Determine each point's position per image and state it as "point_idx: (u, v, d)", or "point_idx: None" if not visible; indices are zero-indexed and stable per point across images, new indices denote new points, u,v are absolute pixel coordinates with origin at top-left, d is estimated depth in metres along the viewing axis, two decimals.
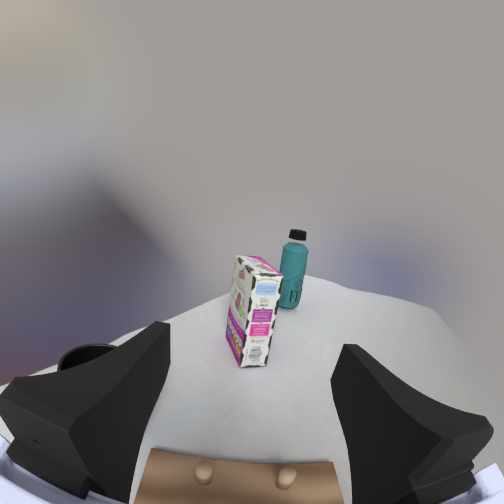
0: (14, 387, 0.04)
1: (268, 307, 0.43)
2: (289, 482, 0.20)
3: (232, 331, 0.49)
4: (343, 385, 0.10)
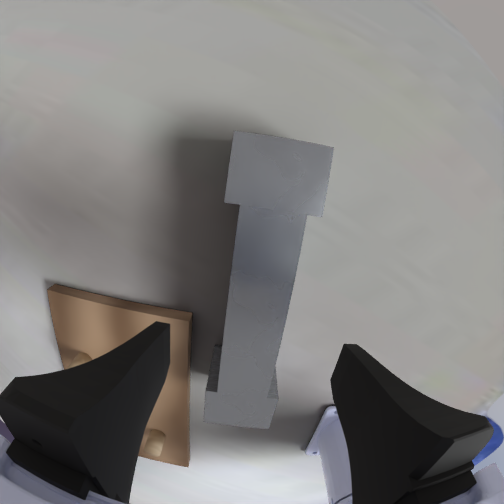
0: (14, 387, 0.04)
1: None
2: None
3: None
4: (343, 385, 0.10)
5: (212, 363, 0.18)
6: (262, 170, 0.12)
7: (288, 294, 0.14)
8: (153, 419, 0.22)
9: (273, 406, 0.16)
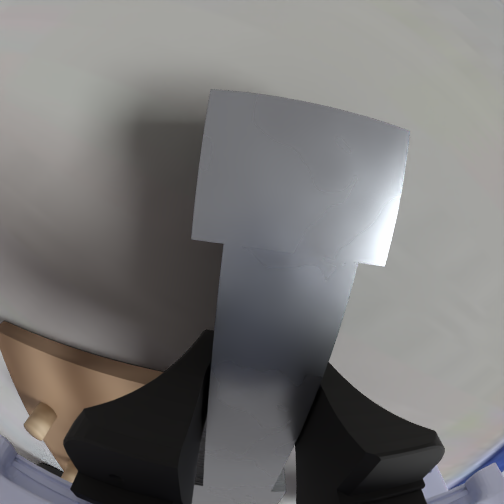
0: (91, 422, 0.04)
1: None
2: (45, 427, 0.12)
3: None
4: None
5: None
6: (271, 172, 0.06)
7: (311, 391, 0.07)
8: None
9: (279, 497, 0.10)
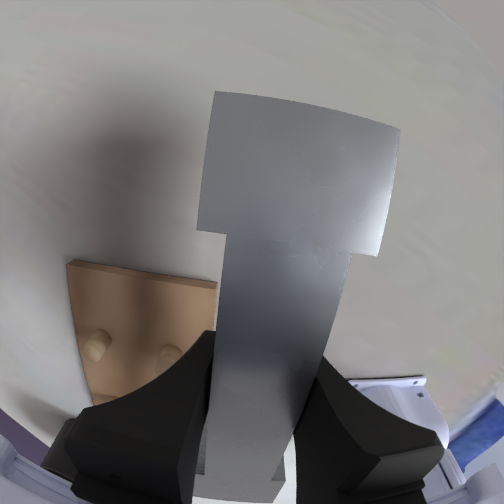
0: (91, 422, 0.04)
1: None
2: (103, 348, 0.19)
3: None
4: None
5: None
6: (270, 168, 0.06)
7: (309, 377, 0.08)
8: None
9: (278, 487, 0.10)
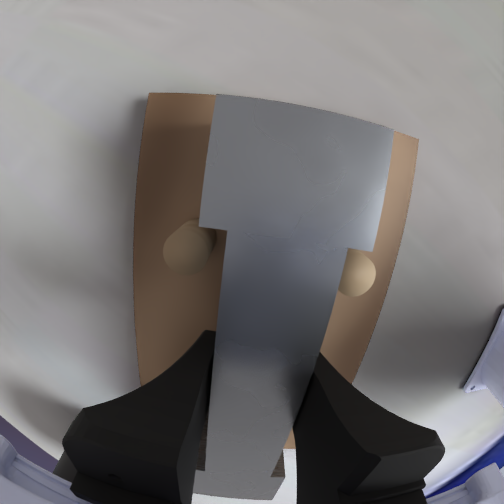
0: (90, 422, 0.04)
1: None
2: (210, 244, 0.10)
3: None
4: None
5: None
6: (269, 167, 0.06)
7: (308, 371, 0.08)
8: None
9: (278, 483, 0.10)
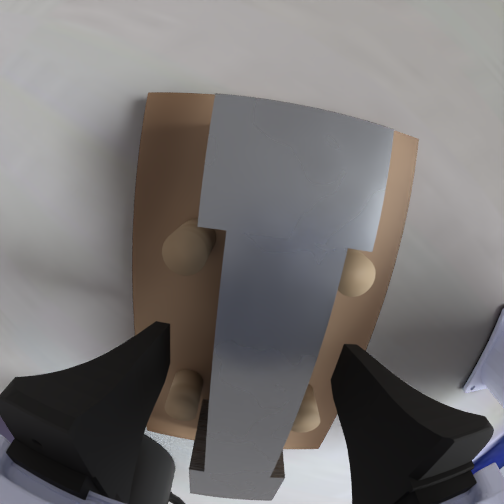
0: (14, 386, 0.04)
1: None
2: (210, 244, 0.10)
3: None
4: (343, 385, 0.10)
5: (198, 427, 0.13)
6: (268, 167, 0.06)
7: (307, 371, 0.08)
8: None
9: (278, 483, 0.10)
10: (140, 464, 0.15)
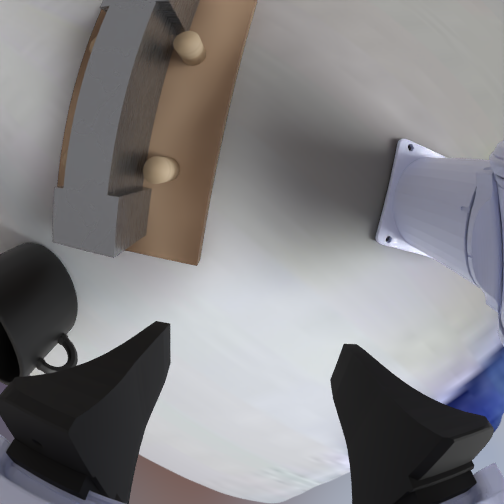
0: (14, 386, 0.04)
1: None
2: None
3: None
4: (343, 385, 0.10)
5: None
6: None
7: (132, 60, 0.11)
8: (171, 133, 0.17)
9: (114, 211, 0.13)
10: (40, 270, 0.18)
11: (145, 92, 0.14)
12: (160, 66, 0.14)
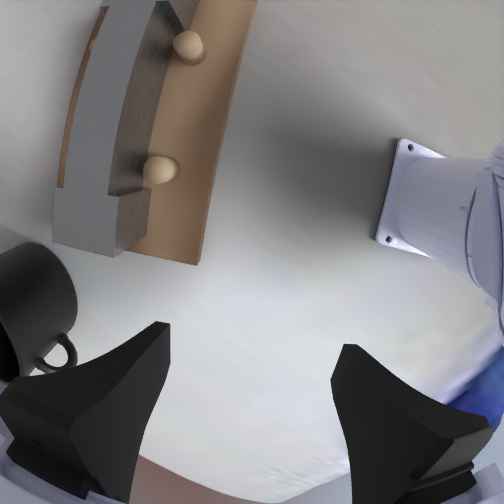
0: (14, 386, 0.04)
1: None
2: None
3: None
4: (343, 385, 0.10)
5: None
6: None
7: (132, 60, 0.11)
8: (171, 133, 0.17)
9: (114, 211, 0.13)
10: (40, 270, 0.18)
11: (145, 92, 0.14)
12: (160, 66, 0.14)
